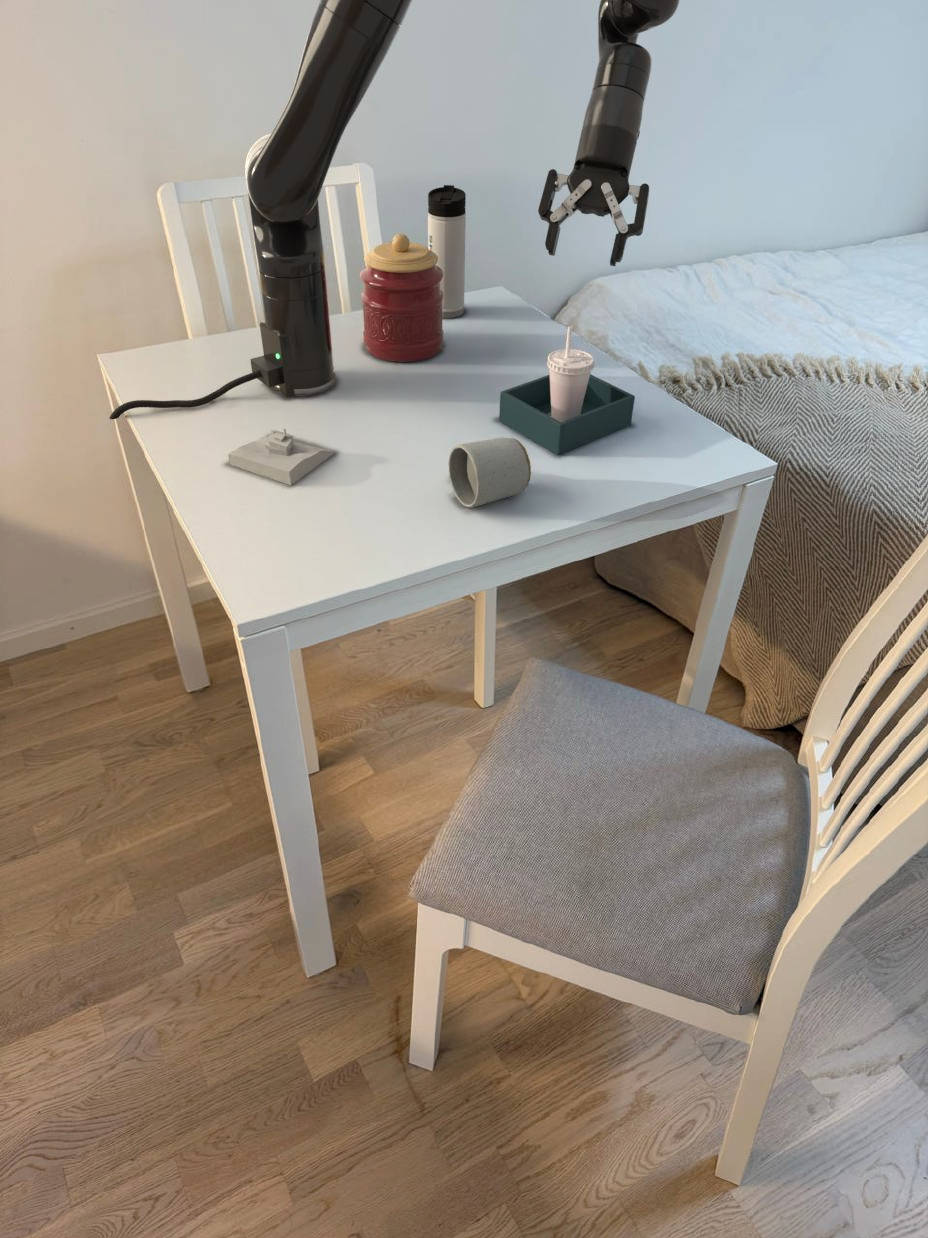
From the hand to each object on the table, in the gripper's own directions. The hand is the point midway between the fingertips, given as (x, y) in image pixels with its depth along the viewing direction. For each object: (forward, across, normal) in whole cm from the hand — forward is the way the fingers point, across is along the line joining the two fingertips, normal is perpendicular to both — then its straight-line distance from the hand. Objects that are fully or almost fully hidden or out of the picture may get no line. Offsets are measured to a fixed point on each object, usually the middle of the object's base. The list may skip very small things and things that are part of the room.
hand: (581, 259), depth 120 cm
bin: (+22, +2, +2) cm, 22 cm away
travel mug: (+5, -26, +32) cm, 42 cm away
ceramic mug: (+33, -4, -16) cm, 37 cm away
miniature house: (+35, -31, -15) cm, 49 cm away
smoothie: (+22, +2, +2) cm, 22 cm away
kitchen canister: (+14, -28, +18) cm, 36 cm away
